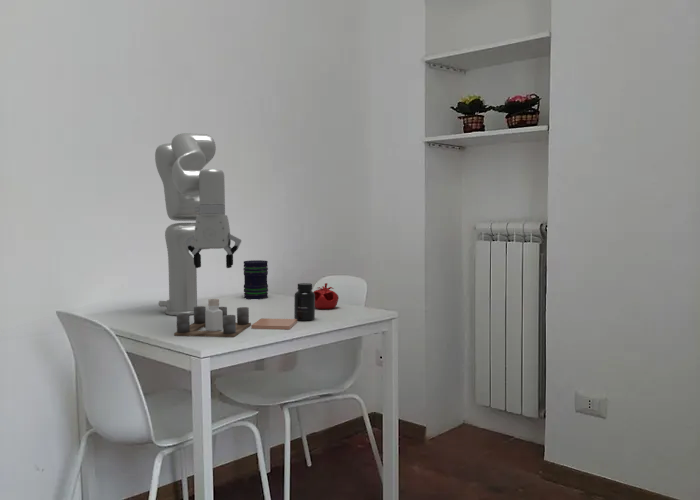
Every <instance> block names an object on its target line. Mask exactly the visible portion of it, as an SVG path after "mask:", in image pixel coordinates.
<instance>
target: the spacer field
mask: <svg viewBox="0 0 700 500" xmlns="http://www.w3.org/2000/svg"><path fill="white" fill-rule="evenodd" d="M219 309H220V310H222V312H223V329H222V330H220V331H207V330H201V329H203V328H206V326H205V311H206V310H207V309H206V306H203V305H202V306H201V305H200V306H198V305H197V307H194V314H193V323H190V315H189V314H178V315H176V331H175V332H174V334H173V335H174V336H175V337H178V336H179V337H212V338H213V337H214V338H217V337H218V338H235V337H236V336H238V335H240V334H241V333H243V332H244V331H245V330H246V329H248V328H249V327H251V325H252V323H251V322H249V321H250V320H249V319H250V318H249V317H250V315H249V313H250V312H249V311H250V308H249V307H247V306H241V307H236V315H235V314H228V307H227V306H219Z"/></svg>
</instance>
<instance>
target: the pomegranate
mask: <svg viewBox="0 0 700 500" xmlns="http://www.w3.org/2000/svg"><path fill="white" fill-rule="evenodd" d="M315 289H316V290H314V291H313V292H314V294H315V309H318V310H332V309H335V308H336V306H338V302H339V295H338V293H336V292H335V291H334V289H335V287H332V286H329V287H328V282H326V283H324V285H323V286H321V287H316V288H315ZM331 289H333V290H331Z"/></svg>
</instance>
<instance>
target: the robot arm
mask: <svg viewBox="0 0 700 500" xmlns="http://www.w3.org/2000/svg"><path fill="white" fill-rule="evenodd" d="M216 150H217V149H216V142H215V140H214V139H213V137H212V136H210V135H209V134H205V133H204V134H203V133H191V132H190V133H186V132H185V133H182V132H181V133H177V134H176V135H175V136H174V137H173V138H172V140H171V142H170V143H163V144H160V145H158V146H157V147H156V149H155V153H154V161H155V166H156V170H157V173H158V175H159V178H160V179H161V182H162V186H163V193H164V200H165V209H166V215H167V217H168V218H169V219H170V220H172V221H175V222H176V223H171V224H169V225H168V226H167V227H166V229H165V231H164V232H165V233H164V238H165V243H166V244H165V245H166V249H167V257H168V258H167V263H168V297H169V298H168V299H167V300H166V301H165V300H159V301H158V306H159V307H161V308H163V307H166V309H164V314H165V315H170V316H177V315H178V314H189V316H190V315H192V316H193V315H194V307H198V284H197V283H198V282H197V276H198V275H197V273H198V272H197V269H198V268H201V267H202V255H201V254H200V252H201V251H203V250H211V249H213V250H214V249H215V250H216V249H223V250H224V251H225V252H226V255H225V263H226V264H225V267H226V269H230V268H232V267H233V265H234V254H235V253H236V252H237V251H238V249H239V247H240V245H241V244H242V239H240V238H239V237H237V236H235V235H233V234H231V228H230V222H229V217H228V215H226V199H225V197H226V195H225V194H226V193H225V192H226V191H225V187H226V186H225V173H224V171H223V170H221V169H217V168H216V169H215V168H213V169H212V168H208V169H203V168H204V167H206V165H207V164H209V163H210V162H211V161H212V160H213V158H214V157H215V155H216ZM177 221H178V223H177ZM182 221H183V222H182ZM189 221H190V222H189ZM191 221H192V222H191ZM231 241H233V243H234V245H233V246H231V245H232V242H231ZM190 252H191V253H190Z"/></svg>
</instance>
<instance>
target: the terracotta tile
mask: <svg viewBox="0 0 700 500" xmlns="http://www.w3.org/2000/svg"><path fill="white" fill-rule="evenodd" d="M297 323H298V321H297V319H295V318H265V317H264V318H263V317H262V318H260V319H258V320H256V321H255V322H254V323H252V324H251V326H250V327H251V330H252V329H253V330H254V329H255V330H256V329H258V330H262V329H263V330H291V329H292V328H293V327H294V326H295V325H296V324H297Z"/></svg>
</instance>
